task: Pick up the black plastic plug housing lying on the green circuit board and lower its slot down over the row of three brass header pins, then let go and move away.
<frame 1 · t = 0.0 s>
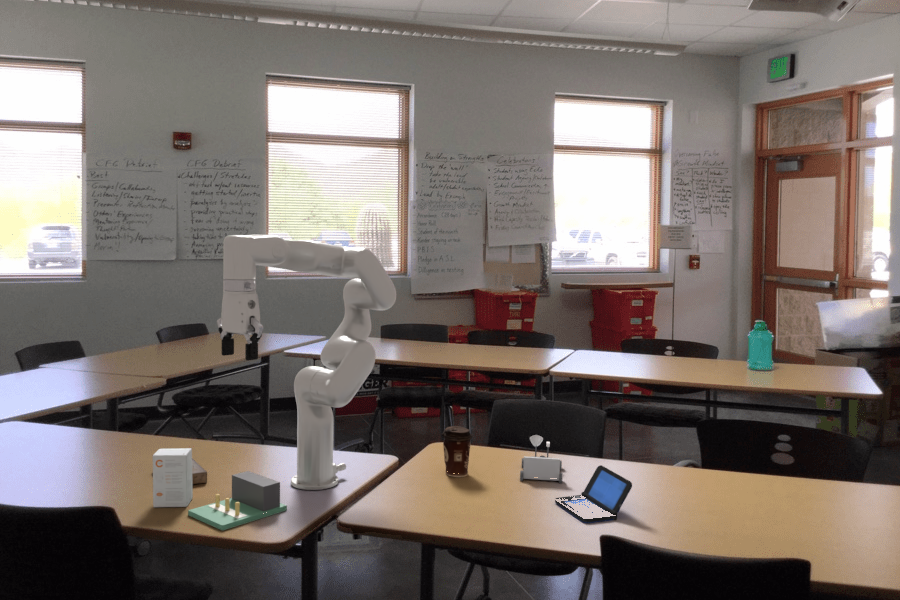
hand: (239, 357, 187), 37 cm above the table, tool pointing down, fingers open, 9 cm apart
coffee cup: (455, 474, 220), on the table
box: (180, 479, 211), on the table
toy rover: (541, 475, 223), on the table
small box: (173, 503, 191), on the table
plug housing: (255, 502, 189), point 1 cm above the table, touching header board
header board: (238, 512, 185), on the table
laptop: (591, 512, 193), on the table
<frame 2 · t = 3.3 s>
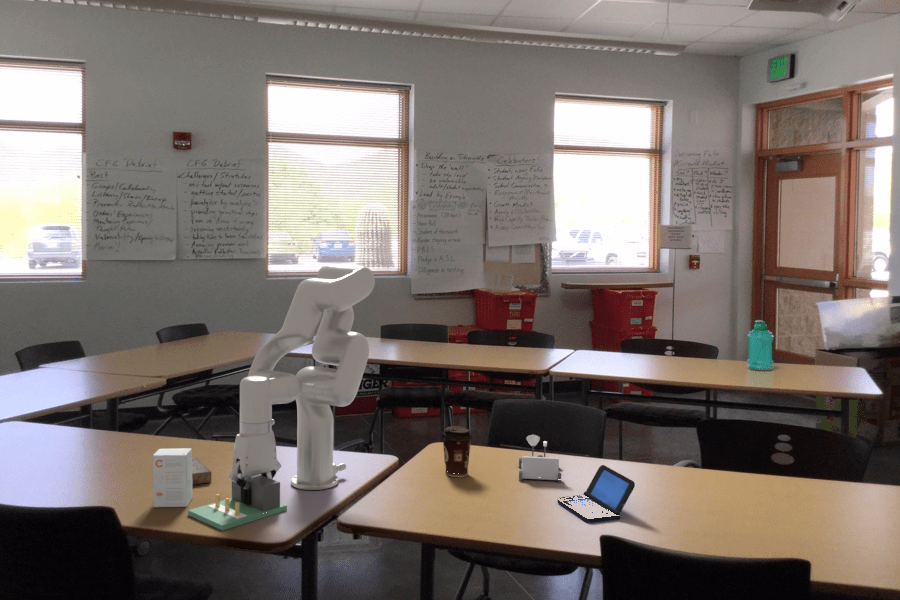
hand: (255, 500, 189), 2 cm above the table, tool pointing down, fingers closed on plug housing, 4 cm apart
box: (184, 479, 212), on the table
plug housing: (255, 502, 189), point 1 cm above the table, touching gripper, header board
when the fingers open (3 cm above the table, at t = 8.1 s): plug housing drops 1 cm, resting on header board.
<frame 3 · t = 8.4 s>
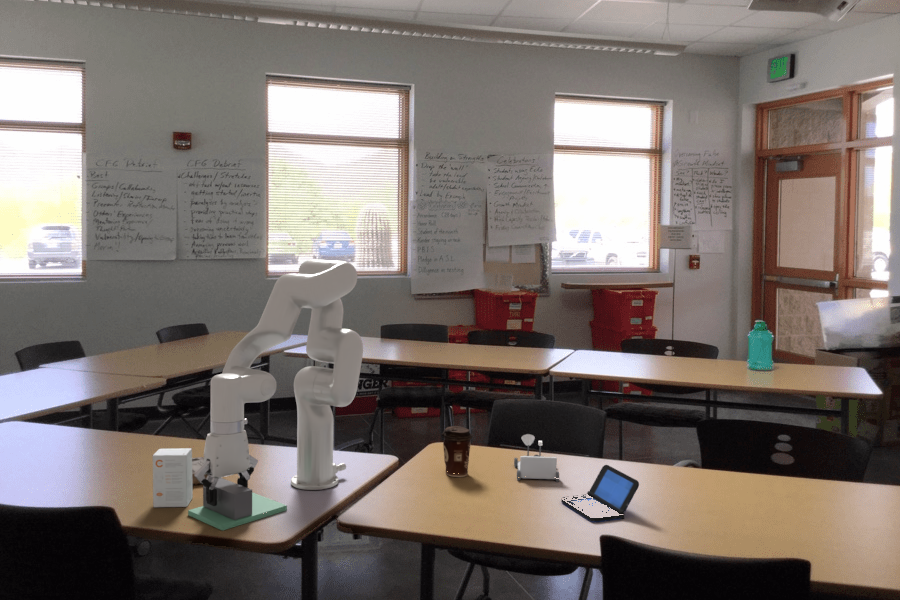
hand: (227, 499, 183), 4 cm above the table, tool pointing down, fingers open, 7 cm apart
box: (191, 478, 212), on the table
toy rover: (535, 474, 224), on the table
plug housing: (227, 510, 183), point 1 cm above the table, touching header board
laptop: (598, 511, 194), on the table
everything else where it was.
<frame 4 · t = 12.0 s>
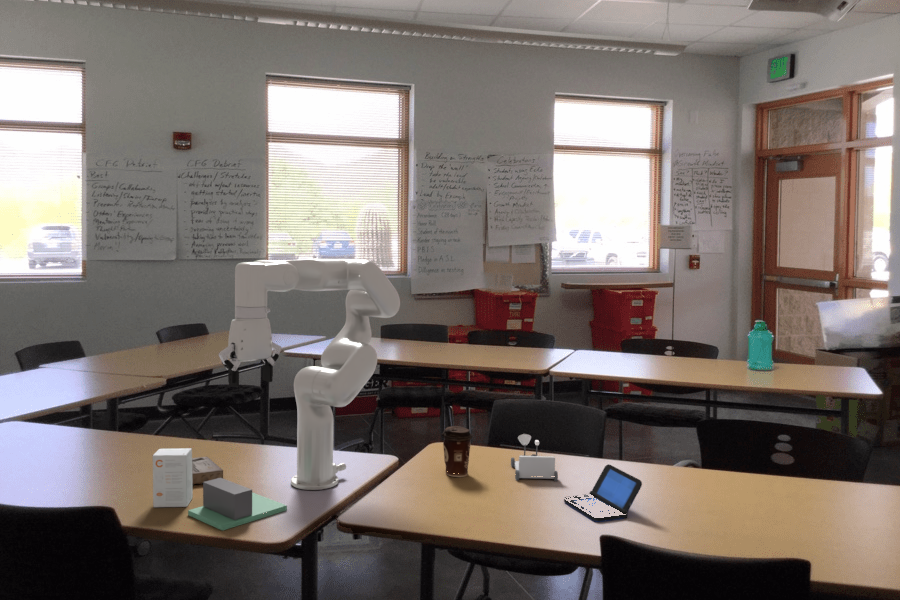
hand: (250, 383, 188), 30 cm above the table, tool pointing down, fingers open, 9 cm apart
box: (196, 477, 213), on the table
at the end: plug housing 0.0 cm from the target spot on the header board, point 1.3 cm above the header board's base; plug housing tilted 0°; the gripper is holding nothing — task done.
